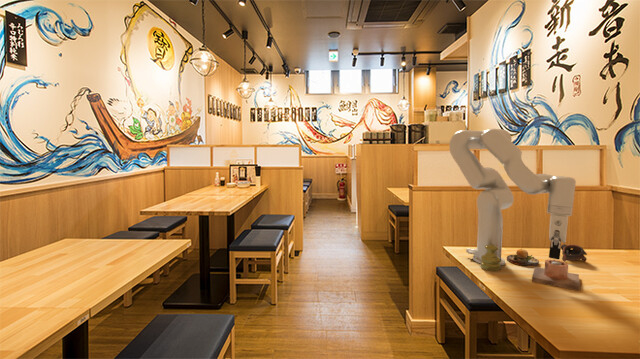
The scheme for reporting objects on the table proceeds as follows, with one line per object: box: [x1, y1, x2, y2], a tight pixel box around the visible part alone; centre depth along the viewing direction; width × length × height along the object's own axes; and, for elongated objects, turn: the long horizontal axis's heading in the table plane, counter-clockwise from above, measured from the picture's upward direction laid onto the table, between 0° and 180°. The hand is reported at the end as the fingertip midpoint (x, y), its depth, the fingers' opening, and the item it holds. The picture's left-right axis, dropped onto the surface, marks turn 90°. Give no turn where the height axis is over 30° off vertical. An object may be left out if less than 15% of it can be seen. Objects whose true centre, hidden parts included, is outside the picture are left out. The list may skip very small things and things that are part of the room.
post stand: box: [531, 262, 581, 292], centre depth 125 cm, size 14×14×6 cm
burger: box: [506, 248, 540, 267], centre depth 145 cm, size 12×12×8 cm
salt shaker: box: [480, 244, 502, 272], centre depth 136 cm, size 7×7×10 cm
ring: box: [544, 259, 569, 280], centre depth 125 cm, size 7×7×5 cm
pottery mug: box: [560, 243, 588, 263], centre depth 147 cm, size 12×10×8 cm
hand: (554, 254), depth 125 cm, fingers open, 9 cm apart
